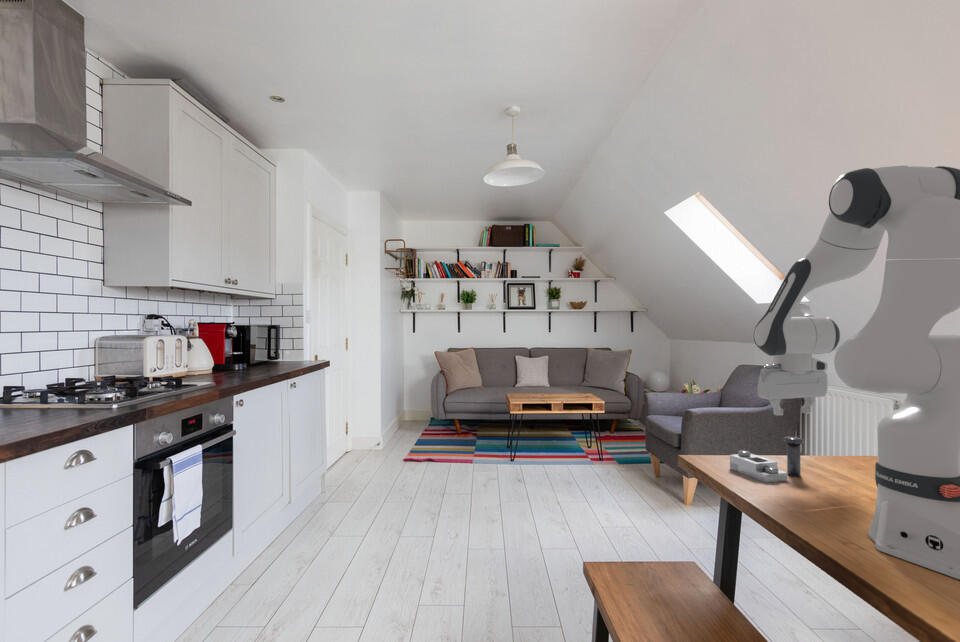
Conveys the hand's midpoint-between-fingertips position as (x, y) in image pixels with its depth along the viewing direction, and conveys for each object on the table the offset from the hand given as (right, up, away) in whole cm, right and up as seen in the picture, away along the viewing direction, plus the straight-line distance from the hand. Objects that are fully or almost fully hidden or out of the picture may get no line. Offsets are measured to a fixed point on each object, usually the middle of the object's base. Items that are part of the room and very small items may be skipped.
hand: (792, 414), depth 126 cm
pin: (0, -17, -1) cm, 17 cm away
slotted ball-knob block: (-9, -17, 0) cm, 19 cm away
